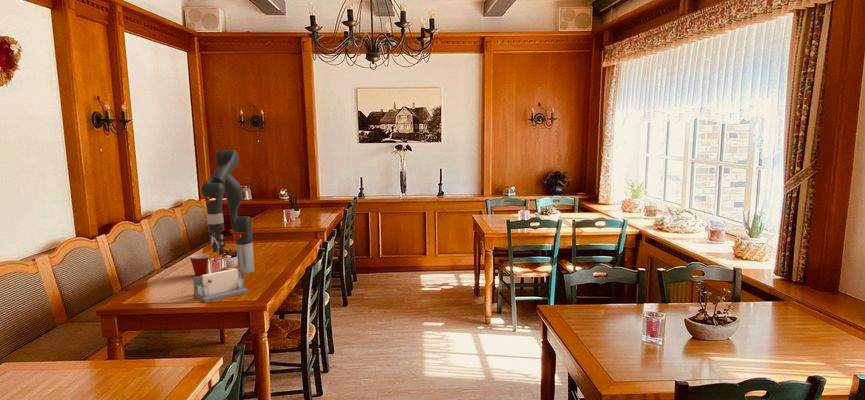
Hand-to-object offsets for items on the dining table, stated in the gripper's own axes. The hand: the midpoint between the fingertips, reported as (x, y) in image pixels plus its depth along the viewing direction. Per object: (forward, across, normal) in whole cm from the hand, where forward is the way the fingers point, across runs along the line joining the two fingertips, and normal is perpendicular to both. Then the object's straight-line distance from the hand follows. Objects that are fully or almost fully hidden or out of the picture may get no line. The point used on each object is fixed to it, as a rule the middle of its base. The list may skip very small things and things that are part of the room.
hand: (218, 253), depth 266 cm
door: (+20, 0, 0) cm, 20 cm away
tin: (+22, +17, -12) cm, 30 cm away
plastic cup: (+22, +45, -5) cm, 50 cm away
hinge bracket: (+21, 0, 0) cm, 21 cm away
